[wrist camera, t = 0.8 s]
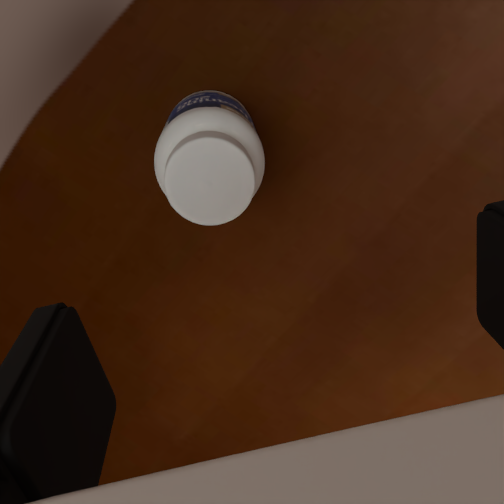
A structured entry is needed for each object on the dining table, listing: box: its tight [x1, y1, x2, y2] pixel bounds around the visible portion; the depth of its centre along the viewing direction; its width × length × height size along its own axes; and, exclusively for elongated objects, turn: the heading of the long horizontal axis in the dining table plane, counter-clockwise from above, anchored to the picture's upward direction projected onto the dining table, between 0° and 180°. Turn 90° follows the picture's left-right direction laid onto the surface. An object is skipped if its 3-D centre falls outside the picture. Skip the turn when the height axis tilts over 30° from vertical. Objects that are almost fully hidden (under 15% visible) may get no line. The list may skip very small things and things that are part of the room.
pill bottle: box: [154, 91, 265, 225], centre depth 25 cm, size 5×5×10 cm
